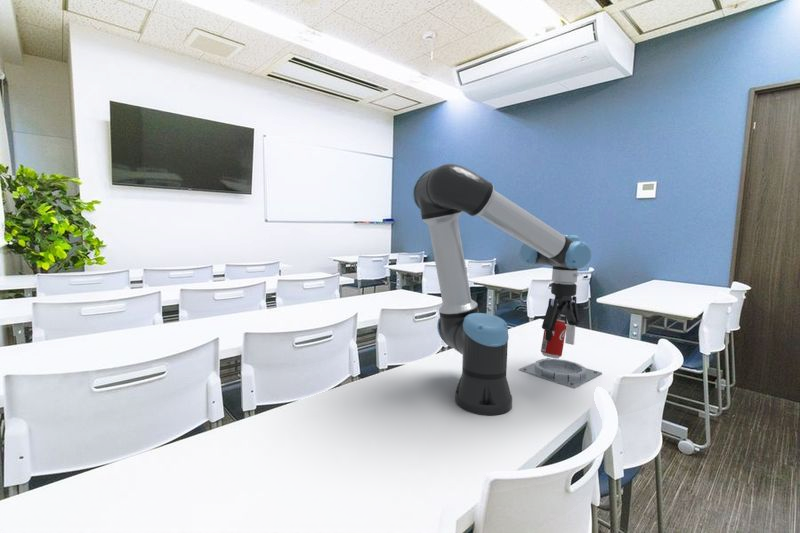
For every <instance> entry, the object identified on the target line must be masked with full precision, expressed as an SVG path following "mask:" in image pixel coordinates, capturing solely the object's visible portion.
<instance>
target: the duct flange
mask: <svg viewBox="0 0 800 533" xmlns="http://www.w3.org/2000/svg"><path fill="white" fill-rule="evenodd" d="M517 369H518V371H519V372H522V373H526V374H529V375H532V376H533V377H534V376H535V377H537V378H540V379H544V380H546V381H550V382H553V383H557V384H559V385H563V386H565V387H569V388H572V389H576V388H578V387H581V386H582V385H584V384H586V383H588V382H590V381H591V380H593V379H595V378H597V377H599V376H601V375H603V372H602V371H599V370H594V369H590V368H586V367H585V366H583V365H581V364H579V363H577V362H573V361H570V360H566V359H560V358H558V359H557V358H551V357H547V358H542V359H539V360H536V361H535V362H534V363H531V364H528V365H526V366H523V367H521V368H517Z"/></svg>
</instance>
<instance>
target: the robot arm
mask: <svg viewBox="0 0 800 533" xmlns="http://www.w3.org/2000/svg"><path fill="white" fill-rule="evenodd" d="M411 194H412V199H413V202H414V204H415V206H417V208H418V209H419V210H420V215H421V221H423V222H424V223H425V224H426V225H428V230H429V234H430V235H429V236H430V241H431V246H432V252H433V258H434V263H435V264H434V265H435V268H436V274H437V279H438V285H439V290H440V296H441V300H442V304H441V306H440V307H439V309H438V311H439V318H438V320H437V325H436V329H437V332H438V336H439V337H440V339H441V340H442V341H443V342H444V343H445V345H447V346H448V347H450V348H452V349H454V350H455V351H456V352H458V353H460V354H461V355H462V370H461V375H460V378H459V381H458V384H457V386H456V389H455V393H454V403H455V404H456V405H457V407H459V408H460V409H462V410H464V411H466V412H469V413H472V414H476V415H482V416H499V415H503V414H506V413H508V412H509V411H511V410H512V408H513V396H512V394H511V389H510V385H509V382H508V377H507V368H508V344H509V343H508V341H509V328H508V324H507V322H506V321H505V320H504V319H503V318H501V317H499V316H497V315H495V314H490V313H486V312H485V313H483V312H480V311H479V306H478V302H476V301H475V300H473V299H472V296H471V289H470V284H469V279H468V278H469V277H468V272H467V266H466V260H465V254H464V248H463V242H462V237H461V230H460V226H459V218H460V217H461V215H462V213H463V212H464V213H466V214H467V215H469V216H471V217H476V216H479V217H480V218H482V219H483V220H485V221H487V222H488V223H490V224H492V225H493V226H495V227H496V228H498V229H499V230H501V231H503V232H505V233H507V235H510V236H511V237H513V238H515V239H516V240H517V241H520V242H521V244H520V247H519V257H520V260H521V261H522V262H523V263H524V264H526V265H527V264H528V265H543V266H552V272H551V273H552V274H551V281H552V283H551V289H550V292H551V294H552V295H554V298H549V299H548V303H547V304H548V305H547V309H546V312H545V315H544V319H543V321H542V325H541V328H542V330H544V329H545V330H546V340H547V341H551V336H552V333H553V336H554V331H553V330H554V328H555V323H556V322H557V320H560V316H561V315H562V314H564V316H565V319H566V322H567V324H566V333H565V339H564V344H568V345H572V346H574V345H575V335H576V326H578V327H579V325H580V316H579V311H578V305H577V304H578V303H577V296H576V295H577V289H578V288H577V287H578V286H577V284H576V283H577V282H578V277H579V273H578V272H579V271H578V270H579V269H583V268H585V267H586V266H588V264H589V263H590V261H591V259H592V250H591V247H590V246H589V244H587V243H586V242H584V241H580V237H579V236H578V235H576V234H575V235H573V234H562V233H561V232H559V231H558V230H556V229H555V228H553V227H551V226H550V225H548V224H547V223H545V222H544V221H542V220H541V219H539V218H538V217H537V216H535V215H533V214H532V213H530V212H528V211H527V210H526V209H524V208H523V207H520V205H518V204H516V203H515V202H514V201H511V200H510V199H508V198H507V197H505V196H504V195H503V194H501V193H499V192H498V191H496V190H495V186H494V184H493V183H492V182H490V181H488V180H487V179H485V178H484V177H482V176H480V175H479V174H478V173H476V172H474V171H473V170H470V169H468V168H467V167H464V166H462V165H459V164H453V163H446V164H442V165H440V166H438V167H436V168H432V169H429V170H426V172H423V173H422V174H421V175H420V176H419V177H417V179H416V180H415V182H414V184H413V186H412V192H411Z"/></svg>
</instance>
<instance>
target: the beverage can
mask: <svg viewBox="0 0 800 533" xmlns="http://www.w3.org/2000/svg"><path fill="white" fill-rule="evenodd" d="M566 325H567V324H566V321H565V320H562V319H558V320H557V322H556V323H555V328H554V330H553V331H554V336H553V333H552V336H551V341H547V340H546V330H545V329H543V336H542V342H541V347H540V348H541V349H540V352H541V354H542V356H544V357H547V358H550V359H560V358H561V357H562V355H563V350H564V345H565V339H566Z"/></svg>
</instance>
